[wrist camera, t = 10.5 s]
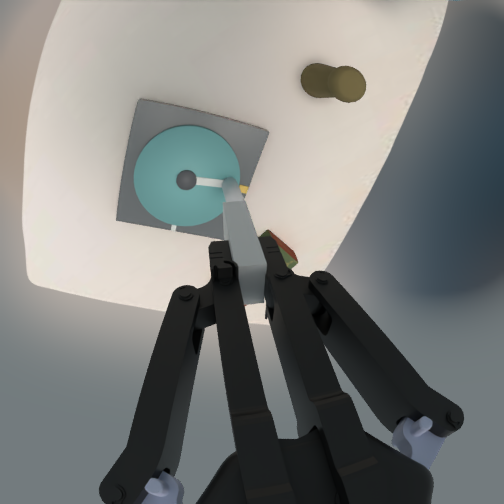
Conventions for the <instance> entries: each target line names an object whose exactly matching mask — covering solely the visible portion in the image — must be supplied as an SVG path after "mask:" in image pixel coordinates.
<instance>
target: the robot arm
mask: <svg viewBox="0 0 504 504" xmlns="http://www.w3.org/2000/svg"><path fill="white" fill-rule="evenodd" d="M455 1H456V0H455ZM223 226H224V241H213V242H211V243H210V245H209V247H208V248H209V259H210V270H211V279H210V281H209V283H208V284H207V285H205V286H203V287H201V288H198V289H197V288H195V287H194V286H190V285H184V286H181V287H178V288H177V289H176V290H174V292H173V294H172V296H171V299H170V302H169V305H168V308H167V311H166V314H165V317H164V320H163V323H162V325H161V328H160V332H159V335H158V338H157V341H156V344H155V347H154V350H153V353H152V356H151V360H150V363H149V366H148V369H147V373H146V376H145V380H144V383H143V387H142V390H141V393H140V397H139V401H138V404H137V408H136V412H135V415H134V419H133V423H132V427H131V431H130V435H129V439H128V443H127V447H126V448H125V450H124V451H123V453H122V454H121V455H120V457H119V458H118V460H117V461H116V463H115V464H114V465H113V467H112V468H111V469H110V471H109V472H108V474H107V475H106V476H105V478H104V479H103V481H102V482H101V484H100V487H99V494H100V497H101V499H102V501H103V502H104V503H105V504H183V503H182V499H183V495H184V488H183V485H182V483H181V482H180V481H179V480H178V479H176V478H175V477H174V476H175V473H176V471H177V468H178V465H179V461H180V456H181V451H182V445H183V439H184V433H185V428H186V422H187V417H188V411H189V406H190V401H191V395H192V389H193V385H194V380H195V374H196V370H197V365H198V360H199V355H200V350H201V344H202V340H203V335H204V331H205V328H206V327H208V326H211V325H213V324H217V332H218V339H219V347H220V353H221V361H222V368H223V375H224V382H225V388H226V395H227V401H228V407H229V412H230V419H231V425H232V431H233V436H234V442H235V448H236V451H235V452H234V453H232V454H231V455H230V456H229V457H228V458H226V460H225V461H224V462H223V463H222V465H221V466H220V468H219V469H218V471H217V472H216V474H215V476H214V477H213V479H212V480H211V482H210V484H209V485H208V486H207V488H206V489H205V491H204V492H203V494H202V495H201V497H200V498H199V500H198V501H197V502H196V504H431V499H432V493H433V487H434V486H433V484H434V482H433V477H432V475H431V473H430V471H429V469H430V467H431V465H432V463H433V461H434V460H435V458H436V456H437V454H438V452H439V450H440V448H441V446H442V444H443V442H444V440H445V438H446V437H447V436H449V435H450V434H452V433H453V432H455V431H457V430H458V429H460V428H461V426H462V424H463V421H464V414H463V411H462V409H461V408H460V407H459V406H458V405H456V404H455V403H453V402H452V401H450V400H449V399H447V398H446V397H444V396H442V395H441V394H439V393H438V392H436V391H435V390H433V389H432V388H430V387H428V385H427V384H426V383H425V382H424V380H423V379H422V378H421V377H420V376H419V374H418V373H417V372H416V371H415V369H414V368H413V367H412V366H411V364H410V363H409V362H408V361H407V360H406V358H405V357H404V356H403V355H402V354H401V352H400V351H399V350H398V349H397V348H396V347H395V345H394V344H393V343H392V342H391V341H390V340H389V338H388V337H387V336H386V335H385V334H384V333H383V331H382V330H380V328H379V327H378V326H377V325H376V323H375V322H374V321H373V320H372V319H371V318H370V317H369V316H368V314H367V313H366V312H365V311H364V310H363V309H362V308H361V306H360V305H359V304H358V303H357V302H356V301H355V300H354V299H353V297H352V296H351V295H350V294H349V293H348V292H347V291H346V290H345V289H344V288H343V286H342V285H341V284H340V283H339V282H338V281H337V280H336V279H335V278H334V277H333V276H332V275H331V274H330V273H328V272H325V271H315V272H313V273H312V274H311V275H310V277H304V276H299V275H296V274H294V272H293V271H292V270H291V269H290V268H288V267H287V265H286V263H285V260H284V258H283V256H282V253H281V252H280V249H279V246H278V244H277V241H276V240H275V239H274V238H272V237H271V236H265V237H258V236H257V233H256V230H255V228H254V225H253V222H252V219H251V216H250V213H249V210H248V207H247V204H246V202H245V201H233V202H223ZM264 296H265V300H266V311H265V319H267V316H268V319H269V323H270V326H271V330H272V333H273V337H274V340H275V344H276V348H277V351H278V355H279V358H280V362H281V366H282V369H283V373H284V376H285V380H286V383H287V387H288V390H289V394H290V397H291V401H292V405H293V408H294V412H295V415H296V419H297V430H298V436H299V438H298V439H278V437H277V433H276V429H275V425H274V421H273V417H272V414H271V412H270V411H269V409H268V406H267V402H266V398H265V394H264V390H263V385H262V381H261V377H260V373H259V369H258V364H257V360H256V356H255V351H254V347H253V343H252V338H251V334H250V329H249V325H248V320H247V315H246V311H245V306H244V305H248V304H256V303H264ZM324 345H325V346H326V348H327V349H328V351H329V352H330V353H331V355H332V356H333V357H334V359H335V360H336V361H337V363H338V364H339V366H340V367H341V368H342V370H343V371H344V373H345V374H346V375H347V377H348V378H349V380H350V381H351V382H352V384H353V385H354V386H355V388H356V389H357V390H358V392H359V393H360V395H361V396H362V397H363V398H364V400H365V402H366V403H367V404H368V406H369V407H370V408H371V410H372V411H373V413H374V414H375V416H376V417H377V418H378V419H379V420H380V422H381V423H382V424H383V425H384V426H385V427H386V428H387V429H388V430H389V431H391V432H392V433H393V439H392V445H393V446H394V447H397V448H398V449H399V450H400V452H399V451H397V450H395V449H393V448H392V447H390V446H388V445H387V444H385V443H383V442H382V441H380V440H378V439H377V438H375V437H373V436H372V435H370V434H368V433H367V432H365V431H364V430H363V427H362V424H361V422H360V419H359V416H358V414H357V411H356V409H355V406H354V403H353V401H352V399H351V397H350V396H349V395H348V394H347V393H344V392H343V391H342V389H341V388H340V385H339V382H338V379H337V377H336V375H335V372H334V369H333V367H332V364H331V361H330V359H329V356H328V354H327V351H326V349H325V346H324Z"/></svg>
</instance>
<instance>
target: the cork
mask: <svg viewBox="0 0 504 504" xmlns="http://www.w3.org/2000/svg"><path fill="white" fill-rule="evenodd" d="M301 84H302V87H303V89H304V90H305V92H306V93H308V94H309V95H310V96H313V97H316V98H329V97H335V98H336V99H338V100H340V101H343V102H348V103H350V102H356V101H357V100H359V99H361V97H362V96H363V95H364V93H365V91H366V82H365V79H364V77H363V75H362V74H361V73H360V72H359V71H358V70H357V69H355V68H353V67H350V66H340V67H338V68H335V67H331V66H328V65H324V64H319V63H315V64H311V65H309V66H307V67H306V68H305V69H304V70H303V72H302V75H301Z"/></svg>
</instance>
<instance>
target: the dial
mask: <svg viewBox="0 0 504 504" xmlns="http://www.w3.org/2000/svg"><path fill="white" fill-rule="evenodd" d="M239 182H240V168H239V163H238V160H237V157H236V155H235V153H234V151H233V150H232V148H231V146H230V145H229V144H228V142H227V141H226V140H225V139H224V138H223V137H221V136H220V135H219V134H217V133H216V132H214V131H212V130H210V129H208V128H205V127H201V126H196V125H181V126H176V127H172V128H169V129H167V130H165V131H163V132H161V133H159V134H158V135H156V136H155V137H154V138H152V139H151V140H150V141H149V142H148V144H147V145H146V146H145V147H144V149H143V150H142V152H141V154H140V155H139V157H138V160H137V162H136V165H135V169H134V187H135V191H136V194H137V196H138V199H139V201H140V202H141V204H142V205H143V207H144V208H145V209H146V210H147V211H148V212H149V213H150V214H151V215H153V216H154V217H155V218H157V219H159V220H161V221H163V222H165V223H168V224H172V225H176V226H194V225H199V224H203V223H206V222H208V221H210V220H212V219H214V218H216V217H217V216H219V215H220V214H221V213H223V202H233V201H245V200H244V198H243V195H242V193H241V190H240V188H239Z"/></svg>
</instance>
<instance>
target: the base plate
mask: <svg viewBox="0 0 504 504" xmlns="http://www.w3.org/2000/svg"><path fill="white" fill-rule="evenodd" d="M181 125H196V126H201V127H205V128H208V129H210V130H212V131H214V132H216V133H217V134H219V135H220V136H221V137H223V138H224V139H225V140H226V141H227V142H228V144H229V145H230V146H231V148H232V150H233V151H234V153H235V155H236V157H237V160H238V163H239V168H240V182H239V188H240V190H241V193H242V195H243V198H245V196H246V193H247V190H248V188H249V185H250V182H251V179H252V177H253V174H254V171H255V169H256V166H257V164H258V161H259V158H260V156H261V153H262V150H263V148H264V145H265V143H266V140H267V137H268V135H269V131H267V130H265V129H262V128H259V127H256V126H253V125H250V124H246V123H243V122H240V121H236V120H233V119H229V118H226V117H222V116H218V115H214V114H211V113H207V112H203V111H199V110H194V109H190V108H186V107H181V106H177V105H172V104H167V103H162V102H157V101H151V100H146V99H139V100H138V103H137V107H136V110H135V114H134V119H133V123H132V127H131V131H130V136H129V141H128V146H127V151H126V156H125V161H124V167H123V173H122V179H121V186H120V192H119V200H118V208H117V217H116V221H122V222H127V223H133V224H139V225H144V226H150V227H155V228H161V229H166V230H171V231H177V232H183V233H188V234H194V235H199V236H205V237H210V238H216V239H221V240H224V226H223V213H221V214H220V215H219V216H217V217H216V218H214V219H212V220H210V221H208V222H206V223H203V224H199V225H194V226H176V225H172V224H168V223H165V222H163V221H161V220H159V219H157V218H155V217H154V216H153V215H151V214H150V213H149V212H148V211H147V210H146V209H145V208H144V207H143V205H142V204H141V202H140V201H139V199H138V196H137V194H136V191H135V187H134V169H135V165H136V162H137V160H138V157H139V155H140V154H141V152H142V150H143V149H144V147H145V146H146V145H147V144H148V142H149V141H150V140H151V139H152V138H154V137H155V136H156V135H158V134H159V133H161V132H163V131H165V130H167V129H169V128H172V127H176V126H181Z"/></svg>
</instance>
